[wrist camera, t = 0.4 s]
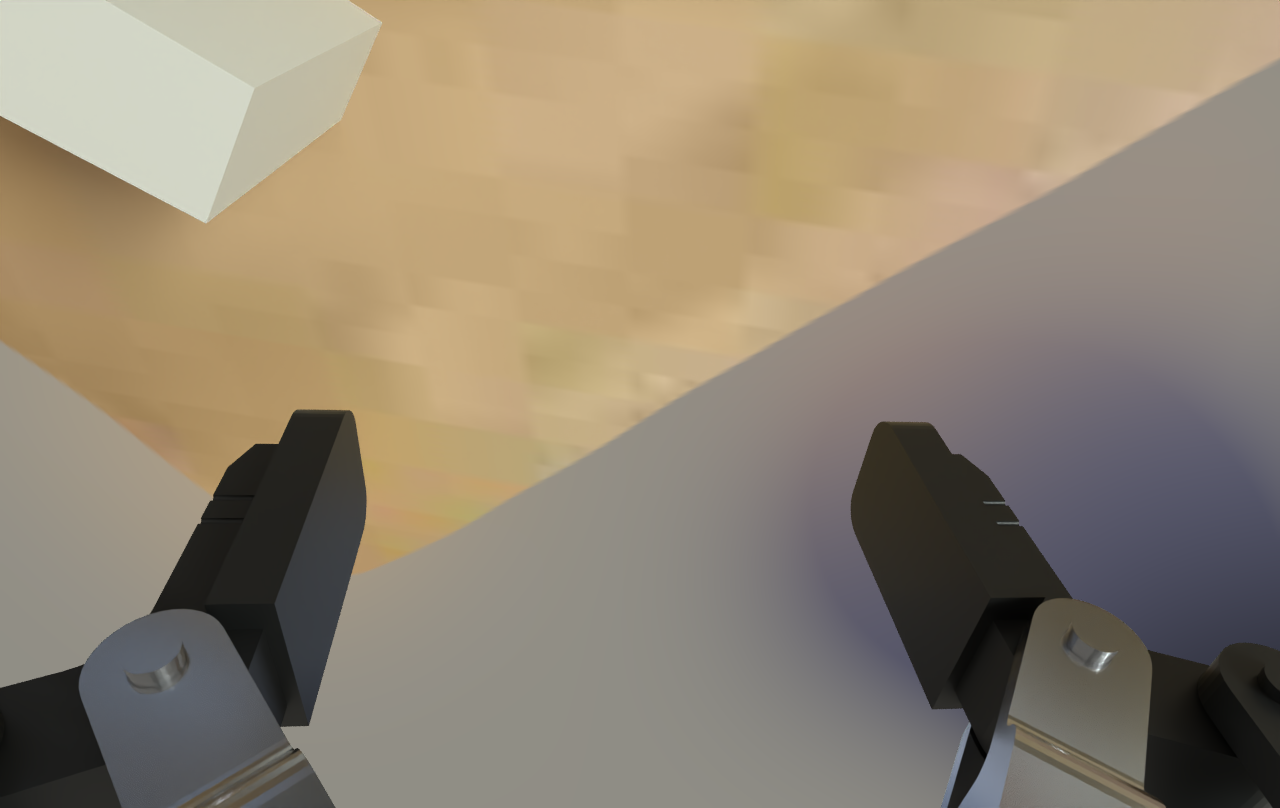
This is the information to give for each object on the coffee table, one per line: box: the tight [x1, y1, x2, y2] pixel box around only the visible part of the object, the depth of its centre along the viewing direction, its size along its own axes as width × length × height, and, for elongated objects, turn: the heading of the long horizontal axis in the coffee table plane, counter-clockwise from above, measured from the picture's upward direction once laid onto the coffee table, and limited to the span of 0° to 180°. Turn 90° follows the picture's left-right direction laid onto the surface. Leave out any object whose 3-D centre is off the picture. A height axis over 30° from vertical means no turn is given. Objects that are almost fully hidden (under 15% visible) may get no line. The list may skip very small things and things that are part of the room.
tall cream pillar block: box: [0, 0, 382, 223], centre depth 23 cm, size 4×6×11 cm, turn 57°
